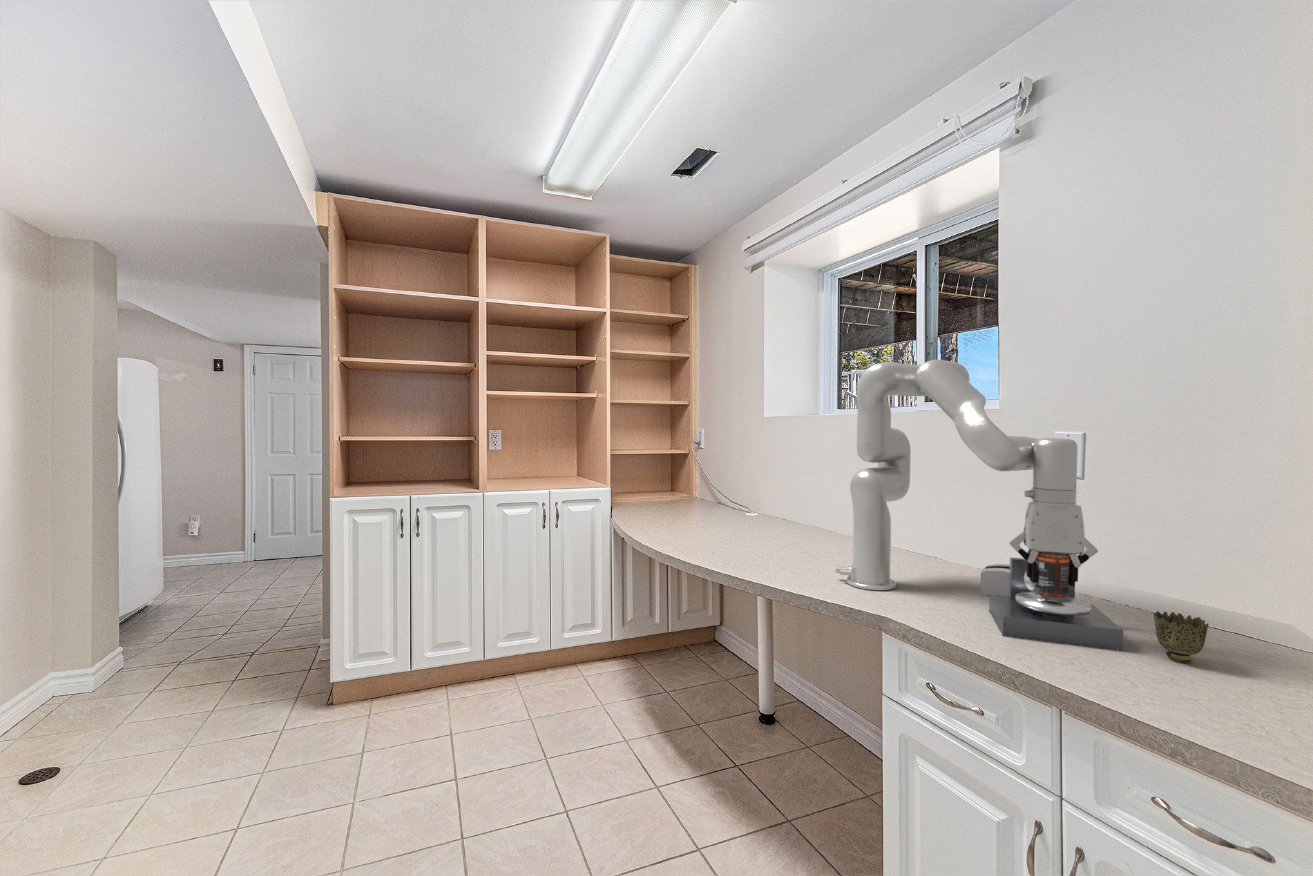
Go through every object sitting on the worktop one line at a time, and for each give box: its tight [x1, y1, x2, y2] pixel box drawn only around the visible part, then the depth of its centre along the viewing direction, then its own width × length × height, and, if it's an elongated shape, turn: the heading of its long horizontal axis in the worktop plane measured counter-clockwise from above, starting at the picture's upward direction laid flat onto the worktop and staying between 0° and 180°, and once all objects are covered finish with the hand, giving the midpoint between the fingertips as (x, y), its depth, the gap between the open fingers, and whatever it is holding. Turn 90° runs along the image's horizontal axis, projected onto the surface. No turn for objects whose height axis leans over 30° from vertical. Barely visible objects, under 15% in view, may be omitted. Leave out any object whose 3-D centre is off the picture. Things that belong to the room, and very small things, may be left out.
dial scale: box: [988, 556, 1124, 651], centre depth 122 cm, size 20×17×13 cm
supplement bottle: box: [1035, 552, 1070, 598], centre depth 120 cm, size 6×6×11 cm
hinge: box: [980, 563, 1010, 596], centre depth 142 cm, size 17×5×10 cm, turn 34°
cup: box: [1153, 610, 1209, 664], centre depth 106 cm, size 8×7×8 cm
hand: (1051, 582), depth 120 cm, fingers open, 6 cm apart
